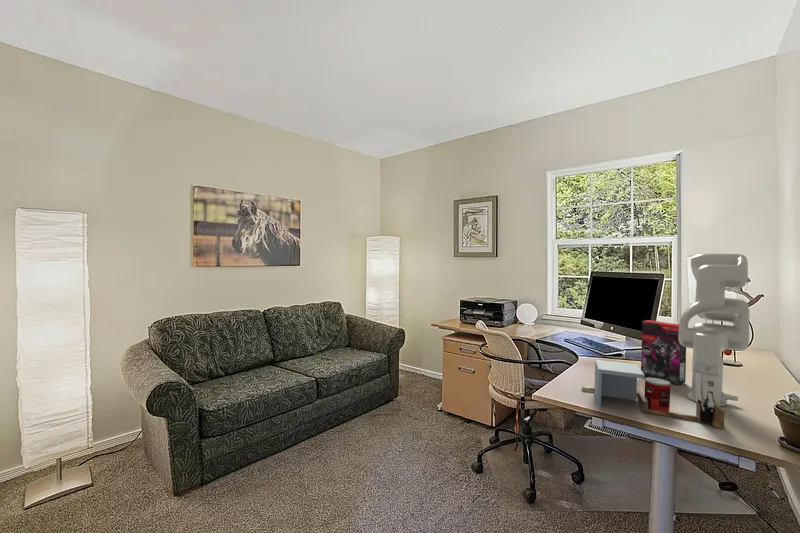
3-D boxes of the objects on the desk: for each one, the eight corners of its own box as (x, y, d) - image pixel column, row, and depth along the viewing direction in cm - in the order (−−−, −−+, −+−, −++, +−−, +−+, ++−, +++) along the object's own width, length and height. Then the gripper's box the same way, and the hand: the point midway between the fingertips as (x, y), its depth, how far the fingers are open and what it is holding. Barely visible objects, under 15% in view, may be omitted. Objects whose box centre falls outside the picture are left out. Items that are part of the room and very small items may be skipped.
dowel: (612, 393, 159) (612, 388, 159) (613, 395, 157) (614, 390, 157) (581, 390, 162) (581, 385, 162) (582, 391, 160) (582, 387, 160)
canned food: (644, 403, 147) (645, 376, 147) (669, 408, 143) (670, 380, 142) (643, 409, 141) (644, 380, 141) (669, 415, 137) (670, 385, 136)
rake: (708, 412, 139) (708, 396, 139) (724, 428, 126) (724, 411, 126) (637, 402, 148) (638, 387, 148) (645, 416, 135) (645, 399, 135)
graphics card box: (639, 375, 184) (641, 320, 183) (646, 373, 188) (648, 319, 187) (679, 385, 170) (681, 326, 169) (686, 383, 173) (688, 325, 173)
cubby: (635, 399, 151) (637, 364, 151) (643, 413, 137) (644, 374, 137) (594, 393, 157) (595, 359, 157) (597, 406, 144) (598, 369, 143)
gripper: (729, 376, 122) (726, 431, 122) (710, 363, 137) (708, 413, 138) (700, 373, 125) (698, 427, 125) (685, 361, 140) (683, 409, 141)
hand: (703, 419), depth 132 cm, fingers closed on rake, 3 cm apart
